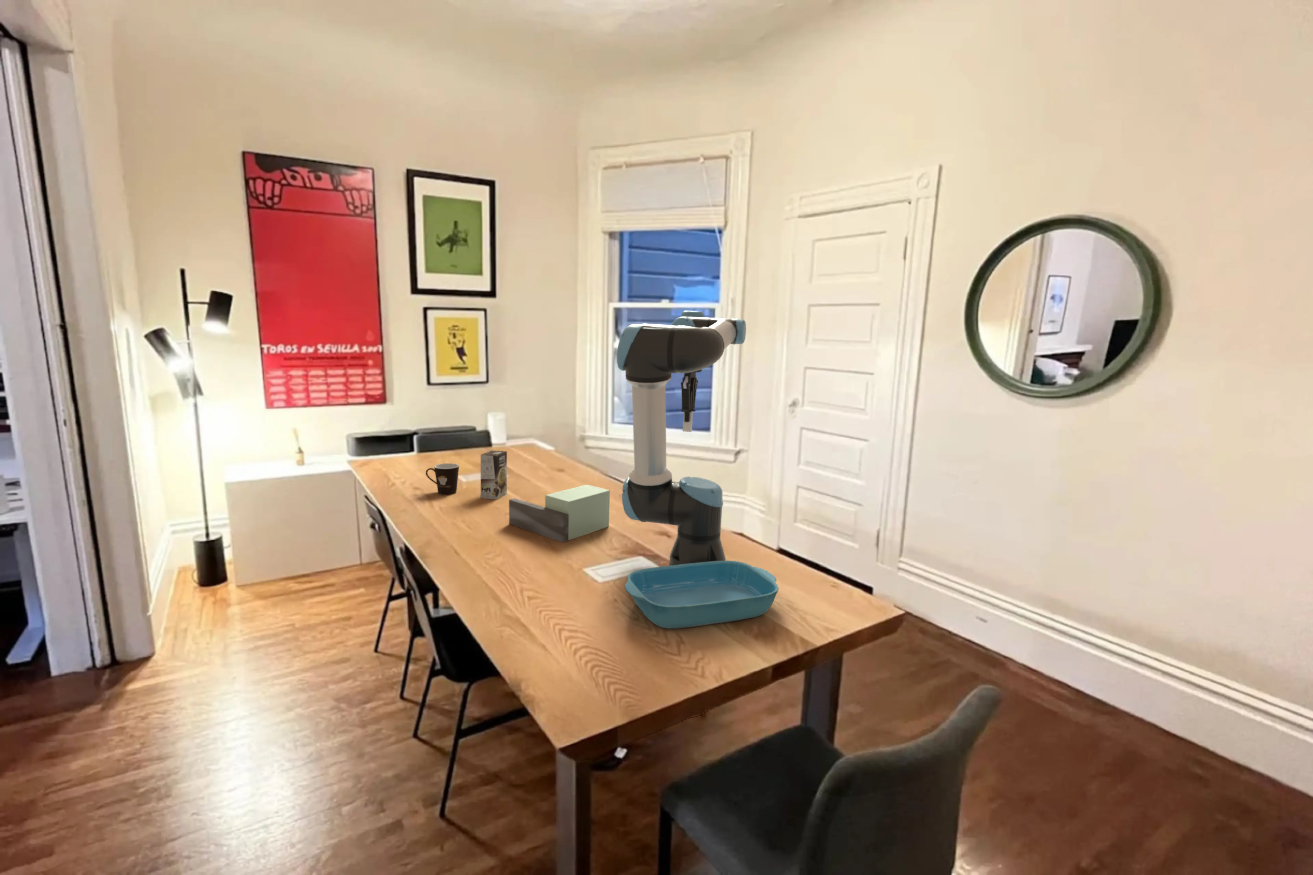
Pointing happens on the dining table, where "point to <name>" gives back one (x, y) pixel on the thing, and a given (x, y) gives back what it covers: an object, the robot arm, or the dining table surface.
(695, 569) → the casserole dish
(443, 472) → the coffee mug
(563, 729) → the dining table surface
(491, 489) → the coffee box
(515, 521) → the charcoal board
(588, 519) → the sage block
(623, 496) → the robot arm
